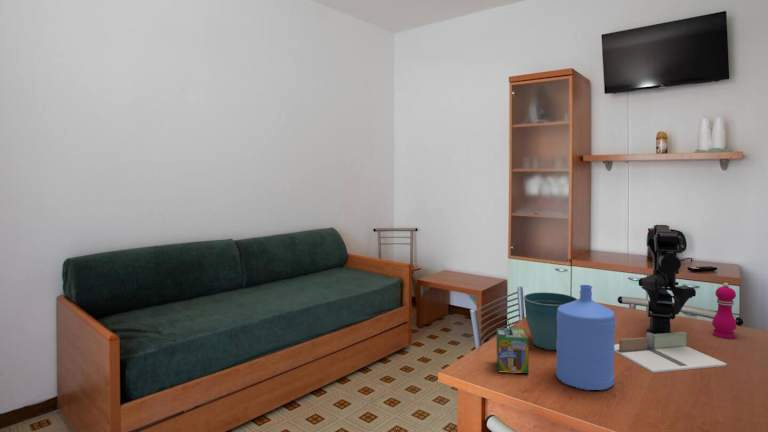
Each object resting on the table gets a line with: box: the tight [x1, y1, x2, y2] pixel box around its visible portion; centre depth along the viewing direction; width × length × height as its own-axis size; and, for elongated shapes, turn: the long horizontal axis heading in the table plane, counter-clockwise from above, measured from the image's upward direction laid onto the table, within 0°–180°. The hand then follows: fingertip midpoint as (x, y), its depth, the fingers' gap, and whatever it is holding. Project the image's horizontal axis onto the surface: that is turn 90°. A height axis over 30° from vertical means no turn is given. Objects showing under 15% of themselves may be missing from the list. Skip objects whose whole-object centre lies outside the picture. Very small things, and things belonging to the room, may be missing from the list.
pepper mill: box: [711, 282, 738, 340], centre depth 167 cm, size 7×7×20 cm
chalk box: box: [495, 319, 530, 373], centre depth 142 cm, size 9×9×15 cm
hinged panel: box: [653, 331, 688, 348], centre depth 156 cm, size 12×2×4 cm, turn 100°
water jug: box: [555, 284, 616, 391], centre depth 132 cm, size 16×16×28 cm
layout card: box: [614, 331, 728, 374], centre depth 150 cm, size 22×26×6 cm
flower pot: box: [523, 291, 578, 351], centre depth 161 cm, size 18×18×17 cm
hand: (664, 310), depth 159 cm, fingers open, 9 cm apart
